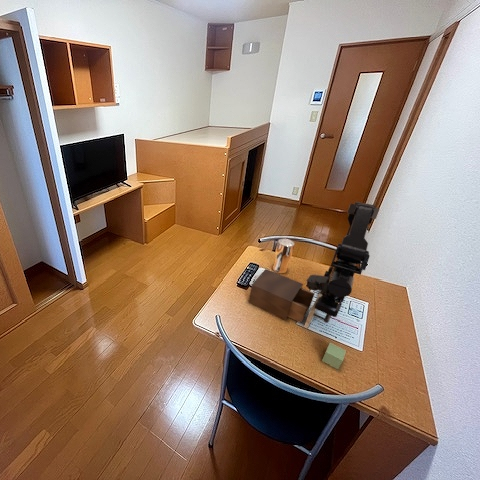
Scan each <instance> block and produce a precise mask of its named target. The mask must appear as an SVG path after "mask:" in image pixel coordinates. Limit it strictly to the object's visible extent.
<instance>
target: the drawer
mask: <svg viewBox="0 0 480 480" xmlns="http://www.w3.org/2000/svg"><path fill="white" fill-rule="evenodd" d="M315 295H316V294H315V292H313V291H311V290H309V289H306V288H303V287H302V288H300V290H299V292H298V293H297V295H296V296H295V298H294V299H293V301H292V302H291V306H290V309H289V312H288V315H287V316H288V317H287V318H290V319H292V320H293V321H296V322H298V323H300V324H301V323H302V322H303V320H304V318H305V317H306V315H307V313H308V315H307V317H306V320H305V324H304V326H303V328H306V329H308V328H309V327H310V325H311V323H312V321H313V319H314V317H315V318H318V319H320V320H322V321H323V322H324V323H329V322H330V319H331V317H332V316H330V315H328V314H326V313H325V316H324V317H323V316H321V315H319V314H317V312H318V310H317V309H316V308H315V305H316V302H317V301H318V299H319V297H321V296H322V294H320V293H318V295H317V297H316V299H315V300H314V302H313V299H314V298H315ZM312 302H313V304H312ZM311 305H312V307H311ZM308 311H309V312H308Z"/></svg>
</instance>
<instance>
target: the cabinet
mask: <svg viewBox="0 0 480 480" xmlns="http://www.w3.org/2000/svg"><path fill="white" fill-rule="evenodd" d="M303 285H304V283H302V282H300V281H297V280H295V279H292V278H289V277H287V276H285V275H283V274H281V273H277V272H275V271H272V270H270V269H267V268H265V269H264V270H263V271H262V272H261V273H260V274H259V275H258V277H257V278H256V279H255V280H254V281H253V282H252V284H251V287H250V293H249V297H248V304H251V305H252V306H255V307H256V308H259V309H261V310H263V311H264V312H267V313H269V314H271V315H273V316H275V317H277V318H279V319H280V320H283V321H287V320H288V318H289V317H288V316H287V315H288V312H289V309H290V306H291V302H292V301H293V299H294V298H295V296H296V295H297V293H298V292H299V290H300V288H303Z"/></svg>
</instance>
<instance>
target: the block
mask: <svg viewBox="0 0 480 480" xmlns="http://www.w3.org/2000/svg"><path fill="white" fill-rule="evenodd" d="M346 352H347V350H346V349H344V348H342V347H340V346H338V345H336V344H334V343H332V342H329V344H328V346H327V347H326V350H325V352H324V354H323V357H322V360H321V362H323V363H325V364H327V365H328V366H331V367H332V368H334V369H336V370H339V369H340V368H341V366H342V363H343V361H344V359H345V356H346Z"/></svg>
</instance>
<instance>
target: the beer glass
mask: <svg viewBox="0 0 480 480" xmlns="http://www.w3.org/2000/svg"><path fill="white" fill-rule="evenodd" d="M295 243H296V242H294V241H293V240H291V239H288V238H280V239H278V242H277V244H276V247H275V254H274V255H275V256H274V257H275V259H274V264H273V266H272V270H273V272H275V273H277V274H286V273H287V272H288V264H289V262H290V260H291V258H292V256H293V253H294V249H295Z"/></svg>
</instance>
